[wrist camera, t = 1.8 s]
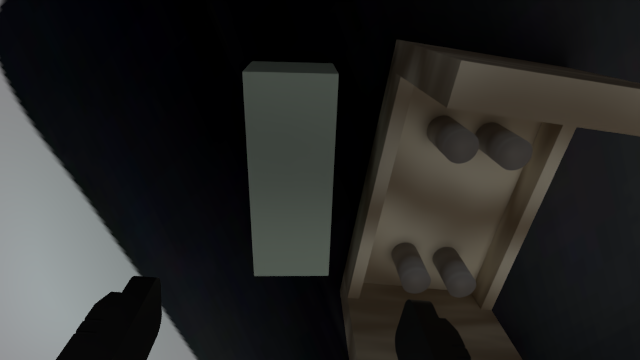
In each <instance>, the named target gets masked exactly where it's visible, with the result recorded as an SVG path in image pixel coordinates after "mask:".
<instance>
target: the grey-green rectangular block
mask: <svg viewBox="0 0 640 360" xmlns="http://www.w3.org/2000/svg"><path fill="white" fill-rule="evenodd" d="M242 74H243V92H244V109H245V126H246V143H247V160H248V177H249V195H250V212H251V229H252V246H253V263H254V276H328V273H329V253H330V234H331V214H332V195H333V175H334V155H335V136H336V116H337V97H338V77H339V74H338V72H337V70H336V68H335V67H334V65H333V63H302V62H264V61H252V62H251V63H250V64H249V65H248V66H247V67H246V68H245V69H244V70H243V71H242Z"/></svg>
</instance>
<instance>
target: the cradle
mask: <svg viewBox="0 0 640 360" xmlns="http://www.w3.org/2000/svg"><path fill="white" fill-rule="evenodd" d="M576 127H580V128H587V129H594V130H601V131H608V132H614V133H621V134H628V135H635V136H640V83H636V82H631V81H626V80H622V79H617V78H613V77H608V76H604V75H599V74H595V73H590V72H586V71H581V70H577V69H572V68H567V67H561V66H555V65H549V64H543V63H537V62H531V61H525V60H519V59H513V58H507V57H500V56H494V55H488V54H482V53H476V52H470V51H464V50H458V49H452V48H446V47H440V46H434V45H427V44H421V43H415V42H409V41H403V40H396V45H395V49H394V53H393V58H392V62H391V67H390V71H389V76H388V80H387V84H386V89H385V93H384V98H383V102H382V107H381V111H380V115H379V120H378V124H377V129H376V133H375V137H374V142H373V146H372V151H371V155H370V160H369V164H368V168H367V173H366V177H365V182H364V186H363V191H362V195H361V199H360V204H359V208H358V213H357V217H356V221H355V226H354V230H353V235H352V239H351V244H350V248H349V252H348V257H347V261H346V266H345V270H344V275H343V279H342V283H341V288H340V294H341V302H342V309H343V317H344V324H345V331H346V339H347V346H348V353H349V360H398V357H397V354H396V349H395V334H396V330H397V327H398V324H399V320H400V317H401V314H402V311H403V308H404V305H405V302H406V301H407V300H408V299H412V300H424V301H430V302H432V304H433V306H434V308H435V310H436V312H437V314H438V317H439V318H446V319H447V320H448V321H449V322H450V323H451V324H452V325H453V326H454V328H455V329H456V330H457V331H458V332H459V334H460V336H461V338H462V340H463V342H464V344H465V348H467V350H468V352H469V354H470V356H471V360H522V358H521V357H520V355H519V353H518V352H517V350H516V349H515V347H514V346H513V344H512V342H511V341H510V339H509V338H508V336H507V334H506V333H505V331H504V330H503V328H502V326H501V325H500V323H499V322H498V320H497V319H496V317H495V315H494V314H493V312H492V311H491V310H492V308H493V305H494V303H495V301H496V299H497V297H498V295H499V292H500V290H501V288H502V286H503V284H504V282H505V280H506V277H507V275H508V273H509V271H510V269H511V267H512V265H513V262H514V260H515V258H516V256H517V254H518V252H519V249H520V247H521V245H522V243H523V241H524V239H525V237H526V234H527V232H528V230H529V228H530V226H531V224H532V221H533V219H534V217H535V215H536V213H537V211H538V209H539V206H540V204H541V202H542V200H543V198H544V196H545V194H546V191H547V189H548V187H549V185H550V183H551V181H552V178H553V176H554V174H555V172H556V170H557V168H558V166H559V163H560V161H561V159H562V157H563V155H564V153H565V151H566V148H567V146H568V144H569V142H570V140H571V138H572V135H573V133H574V131H575V129H576Z"/></svg>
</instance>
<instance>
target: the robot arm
mask: <svg viewBox="0 0 640 360" xmlns="http://www.w3.org/2000/svg"><path fill="white" fill-rule="evenodd" d="M161 317H162V309H161V283H160V279H159V278H153V277H141V276H133V277H132V278H131V279H130V280H129V282H128V284H127V285H126V287H125V289H124V290H123V292H122V293H120V292H110V293H109V294H108V295H106V296H105V297H103V298H102V299H101V300H99V301H98V302H97V303H96V304H95V305H94V306H93V308H92V309H91V311H90V312H89V313H88V315H87V316H86V317H85V321H83V322H82V323H81V325H80V326H79V327H78V329H77V330H76V333H75V334H73V336H72V337H71V339H70V340H69V342H68V343H67V345H66V346H65V347H64V349H63V350H62V352H61V353H60V355H59V356H58V357H57V359H56V360H147V358H148V355H149V353H150V351H151V348H152V346H153V344H154V342H155V339H156V337H157V335H158V332H159V328H160V324H161ZM395 349H396V354H397V357H398V360H471V356H470V354H469V352H468V350H467V348H465V344H464V342H463V340H462V338H461V336H460V334H459V332H458V331H457V330H456V329H455V328H454V326H453V325H452V324H451V323H450V322H449V321H448V320H447V319H446V318H439V317H438V314H437V312H436V310H435V308H434V306H433V304H432V302H430V301H424V300H412V299H408V300H407V301H406V302H405V305H404V308H403V311H402V314H401V317H400V320H399V324H398V327H397V330H396V334H395Z"/></svg>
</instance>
